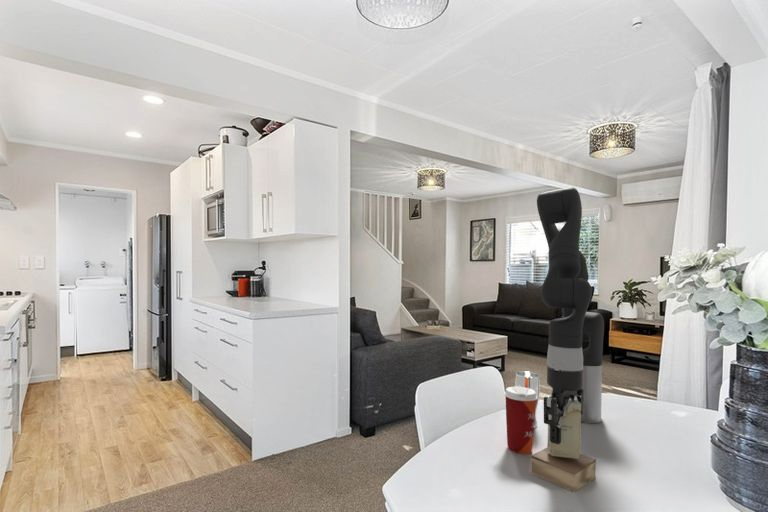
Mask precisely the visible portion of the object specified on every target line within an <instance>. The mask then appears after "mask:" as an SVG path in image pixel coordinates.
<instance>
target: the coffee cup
mask: <svg viewBox="0 0 768 512" xmlns="http://www.w3.org/2000/svg"><path fill="white" fill-rule="evenodd" d="M503 395H504V397H505V415H506V416H505V417H506V419H505V420H506V423H505V424H506V441H507V442H506V443H507V448H508V450H509V451H510V452H513V453H516V454H521V455H526V454H527V455H528V454H530V453H532V452H533V443H534V431H535V428H534V420H535V407H536V400H537V398H538V397H537V396H536V392H535V391H534V390H532V389H529V388H525V387H515V386H508V387H506V388H505V391H504V393H503Z"/></svg>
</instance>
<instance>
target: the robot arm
mask: <svg viewBox="0 0 768 512" xmlns="http://www.w3.org/2000/svg"><path fill="white" fill-rule="evenodd" d="M536 206H537V212H538V215H539V220H540V223H541V225H542V229H543V232H544V235H545V239H546V243H547V246H548V270H547V273H546V274H547V275H546V277H545V279H544V281H543V282H542V287H541V289H540V298H541V301H542V303H543V304H544V305H545V306H547V307H548V308H551V309H561V313H562V317H560V318H554V319H552V320H550V321H549V324H548V347H547V355H546V357H547V358H546V383H547V385H548V386H549V387H551V389H552V392H551V397H549V396H544V397H543V423H544V424H546V425H547V426H548V425H550V441H551V442H552V443H555V444H560V443H561V424H562V420H563V418H565V417H566V414H567V411H568V407H569V406H570V404H571V401H574V402H575V401H577V400H578V401H579V402H580V403H581V423H586V424H599V423H601V422H602V396H603V393H602V392H603V391H602V387H603V386H602V385H603V384H602V383H603V380H602V378H603V354H604V353H603V352H604V335H605V319H604V317H603V315H602V314H601V313H599V312H594V311H593V312H592V311H588V308H589V306H590V302H591V299H592V295H593V290H592V286H591V284H590V282H589V271H588V266H587V262H586V258H585V256H584V254H583V253H582V252H581V251H580V236H581V230H582V229H581V228H582V218H583V217H582V214H583V213H582V212H583V208H582V201H581V195H580V193H579V191H578V189H577V188H576V187H564V188H559V189H553V190H549V191H545V192H542V193H541V192H540V193H539V194H538V195H537V198H536ZM559 223H560V224H562V223H564V225H563V226H562V227H561V229H560V230H559V229H558V226H557V225H556V224H559ZM583 342H586V343H587V342H588V346H587V347H586V348H584V349H583ZM557 408H558V409H559V410H561V411H562V412H557ZM549 415H550V416H549ZM557 416H558V420H557Z"/></svg>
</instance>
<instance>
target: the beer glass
mask: <svg viewBox="0 0 768 512" xmlns="http://www.w3.org/2000/svg"><path fill="white" fill-rule="evenodd" d="M514 381H515V382H514V387H525V388H529V389H532V390H534V391H535V392H536V396H537V397H538V398H537V400H536V407H535V420H534V429H536V428H538V420H537V409H538V405H539V399H540V392H541V390H540V388H541V387H540V375H539V374H538V373H536V372H534V371H533V372H532V371H522V370H521V371H517V372H515V380H514Z"/></svg>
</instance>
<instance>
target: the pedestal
mask: <svg viewBox="0 0 768 512" xmlns="http://www.w3.org/2000/svg"><path fill="white" fill-rule="evenodd" d="M596 461H597V460H596V458H593V457H590V456H587V455H585V454H582V453H580V459H576V458H567V457H558V456H552V455H551V454H550V452H549V450H548V448H547V447H545V448H544V449H541V450H539V451H537V452H535V453H533V454H531V456H530V474H532V475H535V476H536V477H539V478H541V479H544V480H545V481H548V482H550V483H553V484H555V485H558V486H559V487H562V488H564V489H567V490H569V491H571V492H574V493H575V492H576V491H577V490H580V489H581V488H582V487H584V486H585V485H586V484H588V483H589V482H591V481H592V480H594V479H595V478H596V471H597V470H596V468H597V467H596V466H597V465H596V463H597V462H596Z"/></svg>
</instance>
